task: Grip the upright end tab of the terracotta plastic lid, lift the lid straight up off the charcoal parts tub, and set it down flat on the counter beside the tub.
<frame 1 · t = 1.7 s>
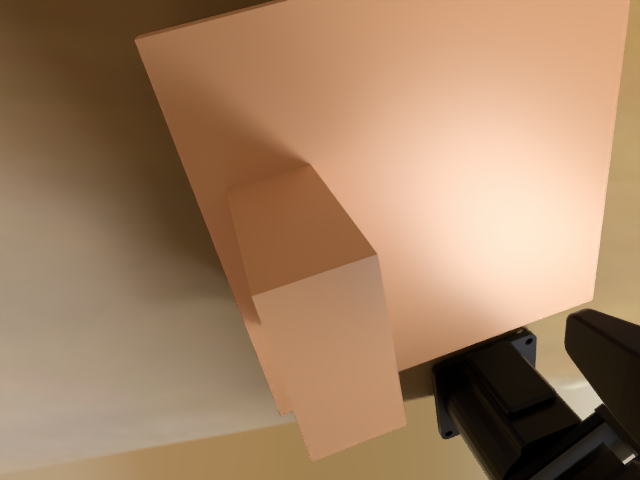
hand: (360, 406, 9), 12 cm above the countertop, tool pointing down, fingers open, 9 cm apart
lid: (396, 178, 17), point 3 cm above the countertop, touching tub
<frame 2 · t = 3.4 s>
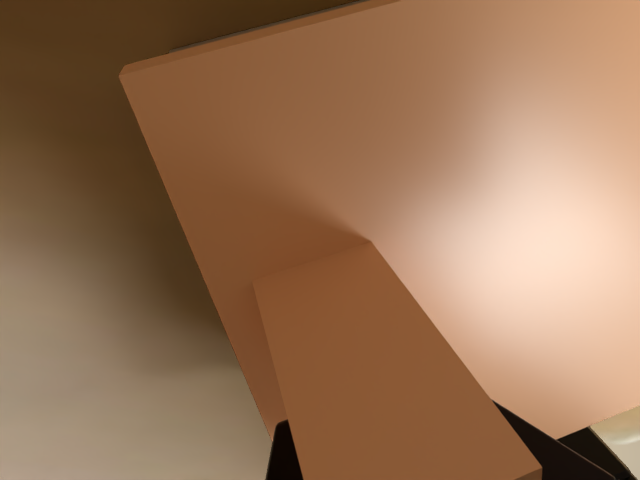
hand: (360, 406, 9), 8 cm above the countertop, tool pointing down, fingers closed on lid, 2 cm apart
lid: (464, 237, 13), point 3 cm above the countertop, touching gripper, tub
tub: (410, 189, 16), on the countertop
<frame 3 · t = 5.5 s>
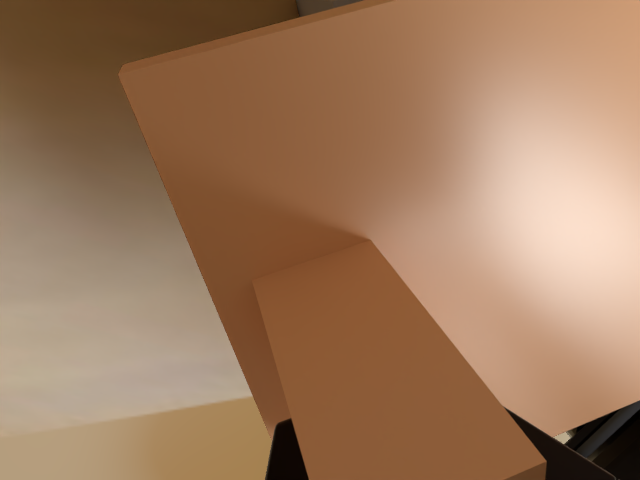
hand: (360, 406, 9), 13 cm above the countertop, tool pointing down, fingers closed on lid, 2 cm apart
lid: (461, 235, 13), point 9 cm above the countertop, touching gripper
tub: (455, 107, 21), on the countertop
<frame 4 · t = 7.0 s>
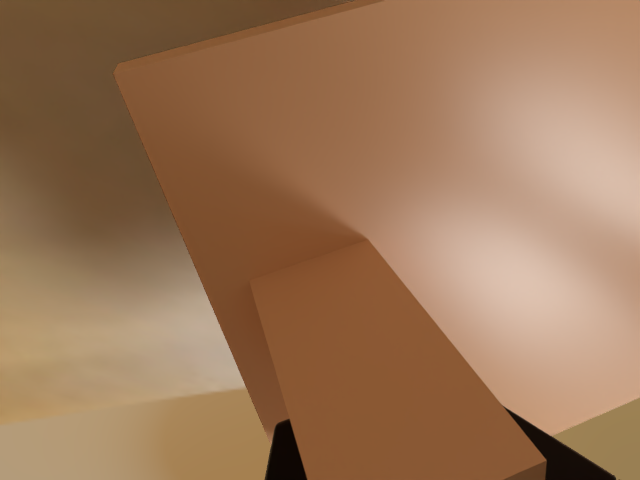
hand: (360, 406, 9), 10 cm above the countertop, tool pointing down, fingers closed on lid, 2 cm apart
lid: (459, 235, 13), point 6 cm above the countertop, touching gripper
when the fingers open (6 cm above the countertop, at t = 7.9 s): lid drops 1 cm, on the countertop.
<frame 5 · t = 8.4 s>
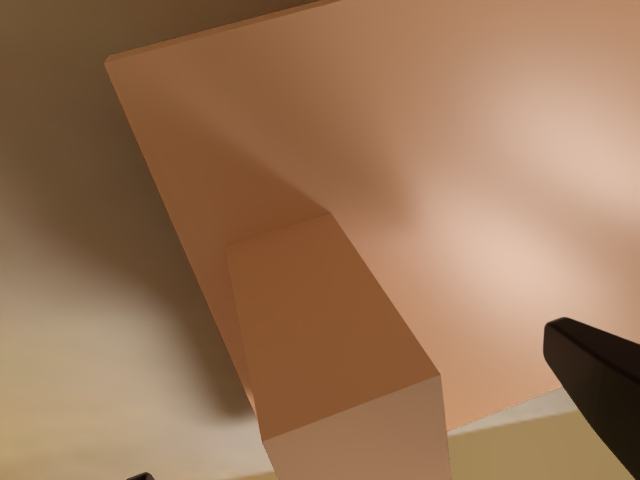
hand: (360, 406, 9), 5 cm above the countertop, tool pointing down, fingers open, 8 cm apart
lid: (427, 216, 14), on the countertop
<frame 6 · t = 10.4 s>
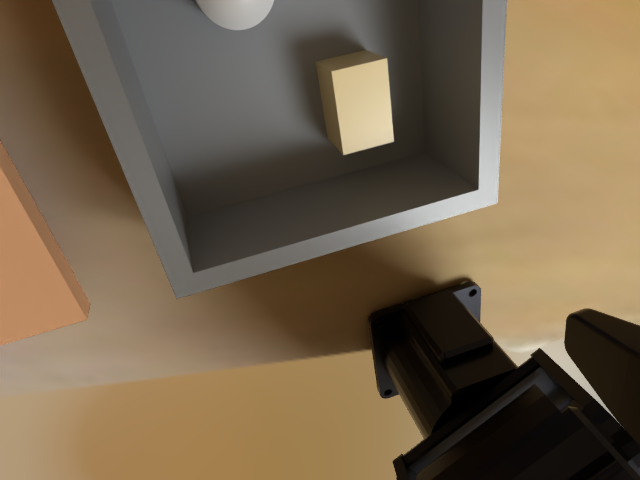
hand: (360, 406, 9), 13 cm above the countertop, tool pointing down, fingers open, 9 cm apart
tub: (282, 50, 18), on the countertop
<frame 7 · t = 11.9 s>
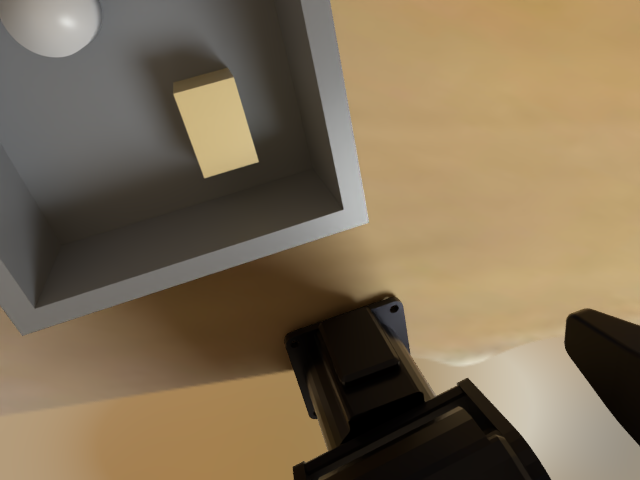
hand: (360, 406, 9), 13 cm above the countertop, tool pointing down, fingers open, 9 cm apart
tub: (141, 71, 17), on the countertop
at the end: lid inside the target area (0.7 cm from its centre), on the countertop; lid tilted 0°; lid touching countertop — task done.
